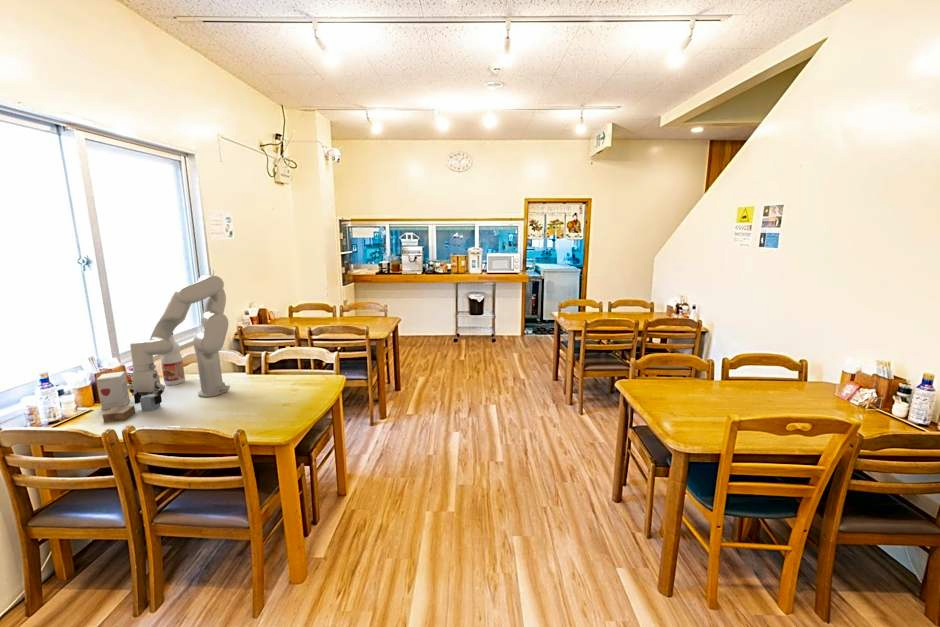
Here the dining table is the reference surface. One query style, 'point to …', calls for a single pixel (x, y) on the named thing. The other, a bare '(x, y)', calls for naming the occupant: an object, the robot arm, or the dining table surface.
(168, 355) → the fruit juice
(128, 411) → the walnut block
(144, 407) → the cube
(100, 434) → the dining table surface
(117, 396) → the supplement box
